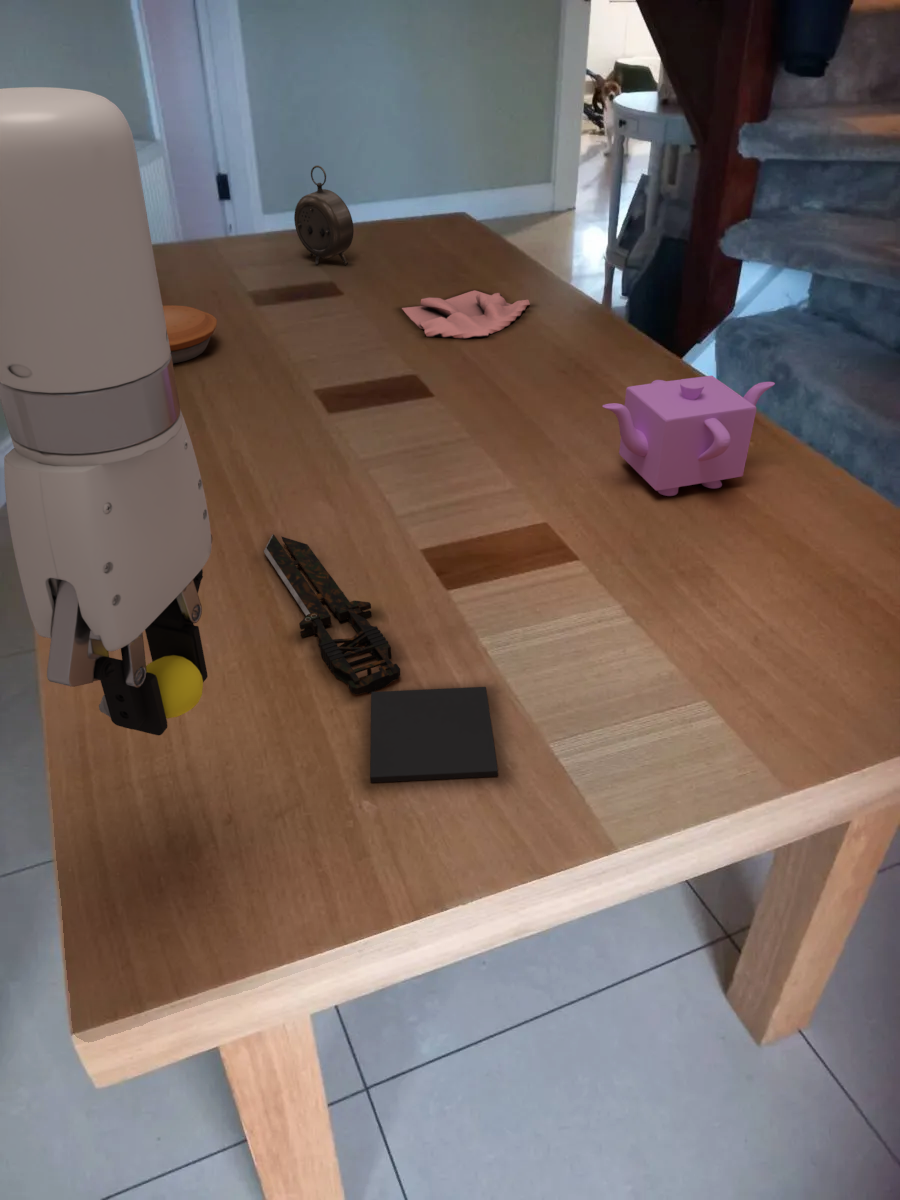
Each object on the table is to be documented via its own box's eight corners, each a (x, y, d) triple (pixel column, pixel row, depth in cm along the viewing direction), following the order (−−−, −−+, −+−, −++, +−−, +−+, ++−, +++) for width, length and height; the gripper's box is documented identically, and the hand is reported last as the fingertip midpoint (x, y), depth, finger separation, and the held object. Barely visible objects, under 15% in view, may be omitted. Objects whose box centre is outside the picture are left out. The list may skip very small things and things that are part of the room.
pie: (183, 324, 141) (178, 291, 138) (241, 350, 132) (237, 316, 129) (90, 351, 132) (81, 316, 129) (145, 380, 123) (137, 344, 120)
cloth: (418, 343, 134) (418, 327, 132) (395, 296, 151) (395, 281, 150) (553, 333, 137) (554, 317, 136) (515, 288, 154) (516, 273, 153)
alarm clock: (357, 263, 166) (351, 166, 157) (337, 271, 163) (329, 172, 153) (313, 253, 172) (304, 159, 162) (293, 260, 168) (283, 164, 159)
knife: (258, 543, 90) (256, 531, 89) (322, 530, 92) (320, 518, 91) (331, 704, 71) (330, 690, 70) (409, 683, 73) (409, 669, 72)
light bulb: (216, 716, 52) (187, 690, 49) (118, 746, 52) (83, 723, 49) (211, 664, 54) (183, 637, 51) (117, 694, 54) (83, 669, 51)
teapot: (646, 435, 109) (658, 346, 103) (758, 463, 103) (778, 370, 97) (592, 489, 99) (602, 394, 92) (714, 523, 93) (733, 424, 86)
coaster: (370, 783, 65) (370, 777, 64) (371, 697, 72) (371, 691, 72) (497, 776, 65) (498, 770, 65) (485, 692, 72) (486, 686, 72)
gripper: (124, 331, 49) (179, 608, 60) (-116, 469, 36) (9, 791, 47) (251, 347, 47) (284, 629, 58) (48, 498, 34) (139, 825, 45)
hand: (161, 699), depth 52 cm, fingers closed on light bulb, 3 cm apart
